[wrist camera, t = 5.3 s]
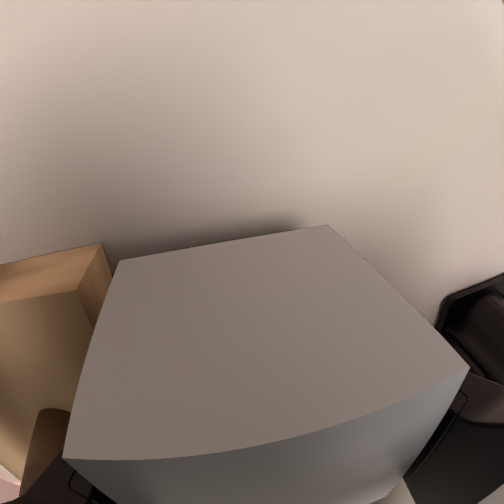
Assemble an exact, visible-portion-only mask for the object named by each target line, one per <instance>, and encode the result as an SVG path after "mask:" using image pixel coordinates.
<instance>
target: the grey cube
mask: <svg viewBox="0 0 504 504" xmlns="http://www.w3.org/2000/svg"><path fill="white" fill-rule="evenodd" d="M469 368H470V367H469V365H468V364H467V363H466V362H465V361H464V360H463V359H462V358H461V356H460V355H459V354H458V353H457V352H456V351H455V350H454V349H453V348H452V346H451V345H450V344H449V343H448V342H447V341H446V340H445V339H444V338H443V337H442V336H441V335H440V334H439V332H438V331H437V330H436V329H435V328H434V327H433V326H432V325H431V324H430V323H429V322H428V321H427V320H426V319H425V318H424V317H423V316H422V315H421V314H420V313H419V312H418V311H417V309H416V308H415V307H414V306H413V305H412V304H411V303H410V302H409V301H408V300H407V299H406V298H405V297H404V296H403V295H402V294H401V293H400V292H399V291H398V290H397V289H396V288H395V287H394V286H393V285H392V284H391V283H390V282H389V281H387V280H386V279H385V278H384V277H383V276H382V275H381V274H380V273H379V272H378V271H377V270H376V269H375V268H374V267H373V266H372V265H371V264H370V263H369V262H368V261H367V260H366V259H365V258H363V257H362V256H361V255H360V254H359V253H358V252H357V251H356V250H355V249H354V248H353V247H352V246H351V245H350V244H348V243H347V242H346V241H345V240H344V239H343V238H342V237H341V236H340V235H339V234H337V233H336V232H335V231H334V230H333V229H332V228H331V227H330V226H329V225H323V226H317V227H311V228H304V229H298V230H292V231H286V232H280V233H274V234H268V235H262V236H256V237H250V238H244V239H238V240H232V241H226V242H220V243H215V244H209V245H203V246H197V247H192V248H186V249H180V250H175V251H169V252H163V253H158V254H152V255H147V256H141V257H135V258H130V259H124V260H120V261H119V263H118V266H117V268H116V271H115V273H114V276H113V278H112V281H111V284H110V286H109V289H108V292H107V295H106V297H105V300H104V303H103V306H102V309H101V311H100V314H99V317H98V320H97V323H96V326H95V329H94V332H93V336H92V339H91V342H90V345H89V348H88V352H87V355H86V358H85V362H84V365H83V369H82V372H81V376H80V380H79V383H78V387H77V391H76V395H75V399H74V403H73V407H72V412H71V416H70V420H69V425H68V430H67V435H66V440H65V445H64V450H63V456H62V458H63V459H64V460H65V461H66V462H67V463H68V464H69V465H70V466H71V467H73V468H74V469H75V470H76V471H77V472H78V473H79V474H81V475H82V476H83V477H84V478H85V479H86V480H88V481H89V482H90V483H91V484H92V485H94V486H95V487H96V488H97V489H99V490H100V491H101V492H103V493H104V494H105V495H106V496H108V497H109V498H110V499H112V500H113V501H115V502H116V503H117V504H369V503H371V502H374V501H377V500H379V499H381V498H384V497H386V496H387V495H388V494H389V493H390V491H391V490H392V489H393V488H394V487H395V485H396V484H397V483H398V482H399V480H400V479H401V477H403V475H404V474H405V473H406V471H407V470H408V469H409V467H410V466H411V465H412V463H413V462H414V461H415V459H416V458H417V456H418V455H419V454H420V452H421V451H422V449H423V448H424V446H425V445H426V443H427V442H428V440H429V439H430V437H431V436H432V434H433V433H434V431H435V430H436V428H437V426H438V425H439V423H440V422H441V420H442V418H443V417H444V415H445V413H446V412H447V410H448V408H449V406H450V405H451V403H452V401H453V399H454V398H455V396H456V394H457V392H458V390H459V388H460V386H461V384H462V382H463V381H464V379H465V377H466V375H467V373H468V370H469Z"/></svg>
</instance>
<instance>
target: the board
mask: <svg viewBox="0 0 504 504" xmlns="http://www.w3.org/2000/svg"><path fill="white" fill-rule="evenodd" d="M112 278H113V277H112V274H111V271H110V268H109V265H108V262H107V259H106V255H105V252H104V249H103V246H102V243H98V244H93V245H89V246H84V247H79V248H74V249H70V250H65V251H60V252H56V253H51V254H47V255H42V256H38V257H33V258H29V259H25V260H20V261H16V262H12V263H8V264H4V265H0V464H1V465H2V466H3V467H4V468H6V469H7V470H8V471H9V472H11V473H12V474H13V475H14V476H15V477H17V478H18V479H19V480H21V481H22V482H21V487H20V494H19V497H20V496H21V495H22V494H24V493H25V492H26V491H27V490H28V488H29V487H30V486H31V485H32V484H33V483H34V482H35V480H36V479H37V478H38V477H39V476H40V475H41V473H42V472H43V471H44V470H45V469H46V468H47V467H48V465H49V464H50V463H51V462H52V461H53V459H54V458H55V457H56V456H57V455H58V453H59V452H60V450H61V449H62V448H63V446H64V445H65V440H66V435H67V430H68V425H69V420H70V416H71V412H72V407H73V403H74V399H75V395H76V391H77V387H78V383H79V380H80V376H81V372H82V369H83V365H84V362H85V358H86V355H87V352H88V348H89V345H90V342H91V339H92V336H93V332H94V329H95V326H96V323H97V320H98V317H99V314H100V311H101V309H102V306H103V303H104V300H105V297H106V295H107V292H108V289H109V286H110V284H111V281H112Z"/></svg>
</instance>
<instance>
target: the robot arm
mask: <svg viewBox="0 0 504 504" xmlns="http://www.w3.org/2000/svg"><path fill="white" fill-rule="evenodd" d="M437 331H438V332H439V334H440V335H441V336H442V337H443V338H444V339H445V340H446V341H447V342H448V343H449V344H450V345H451V346H452V348H453V349H454V350H455V351H456V352H457V353H458V354H459V355H460V356H461V358H462V359H463V360H464V361H465V362H466V363H467V364H468V365H469V367H470V368H469V370H468V373H467V375H466V377H465V379H464V381H463V382H462V384H461V386H460V388H459V390H458V392H457V394H456V396H455V398H454V399H453V401H452V403H451V405H450V406H449V408H448V410H447V412H446V413H445V415H444V417H443V418H442V420H441V422H440V423H439V425H438V426H437V428H436V430H435V431H434V433H433V434H432V436H431V437H430V439H429V440H428V442H427V443H426V445H425V446H424V448H423V449H422V451H421V452H420V454H419V455H418V456H417V458H416V459H415V461H414V462H413V463H412V465H411V466H410V467H409V469H408V470H407V471H406V473H405V474H404V475H403V479H404V481H405V483H406V485H407V487H408V489H409V491H410V493H411V495H412V497H413V499H414V501H415V503H416V504H504V275H501V276H499V277H497V278H494V279H492V280H490V281H487V282H485V283H482V284H480V285H477V286H475V287H472V288H470V289H467V290H465V291H462V292H459V293H457V294H454V295H452V296H450V297H449V298H448V299H447V300H446V301H445V303H444V306H443V310H442V313H441V317H440V320H439V323H438V327H437ZM63 450H64V446H63V448H62V449H61V450H60V452H59V453H58V455H57V456H56V457H55V458H54V459H53V461H52V462H51V463H50V464H49V465H48V467H47V468H46V469H45V470H44V471H43V472H42V473H41V475H40V476H39V477H38V478H37V479H36V480H35V482H34V483H33V484H32V485H31V486H30V487H29V488H28V490H27V491H26V492H25V493H24V494H22V495H21V496H20V497H18V498H17V499H15V500H12V501H9V502H6V503H2V504H117V503H116V502H115V501H113V500H112V499H110V498H109V497H108V496H106V495H105V494H104V493H103V492H101V491H100V490H99V489H97V488H96V487H95V486H94V485H92V484H91V483H90V482H89V481H88V480H86V479H85V478H84V477H83V476H82V475H81V474H79V473H78V472H77V471H76V470H75V469H74V468H73V467H71V466H70V465H69V464H68V463H67V462H66V461H65V460H64V459H63V458H62V456H63Z"/></svg>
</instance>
